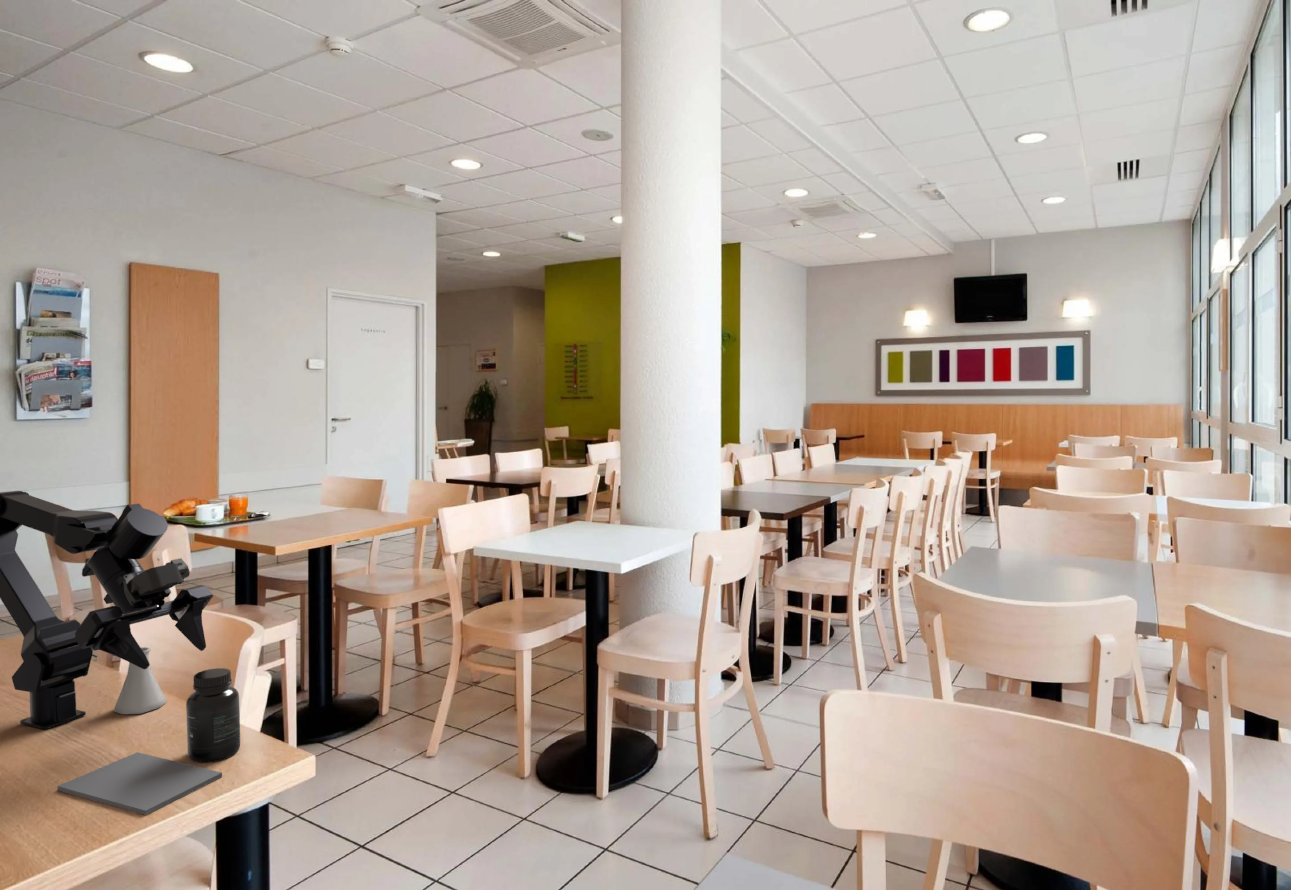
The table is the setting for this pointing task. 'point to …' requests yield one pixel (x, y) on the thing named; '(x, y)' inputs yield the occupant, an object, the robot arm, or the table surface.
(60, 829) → the table surface
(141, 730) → the table surface
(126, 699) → the flask
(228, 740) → the supplement bottle
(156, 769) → the placemat
